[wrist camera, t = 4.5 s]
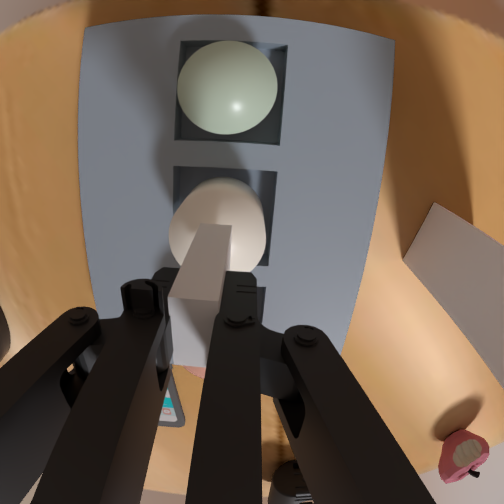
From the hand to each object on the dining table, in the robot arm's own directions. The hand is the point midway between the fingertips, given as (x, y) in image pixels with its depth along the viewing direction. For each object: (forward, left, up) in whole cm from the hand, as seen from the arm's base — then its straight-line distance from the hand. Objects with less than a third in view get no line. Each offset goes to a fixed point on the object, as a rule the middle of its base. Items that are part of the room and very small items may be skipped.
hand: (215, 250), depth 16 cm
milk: (+19, -2, -10) cm, 21 cm away
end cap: (+11, -41, -10) cm, 44 cm away
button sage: (0, +8, -7) cm, 11 cm away
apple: (+39, -36, -10) cm, 54 cm away
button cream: (0, 0, -6) cm, 6 cm away
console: (0, 0, -9) cm, 9 cm away
